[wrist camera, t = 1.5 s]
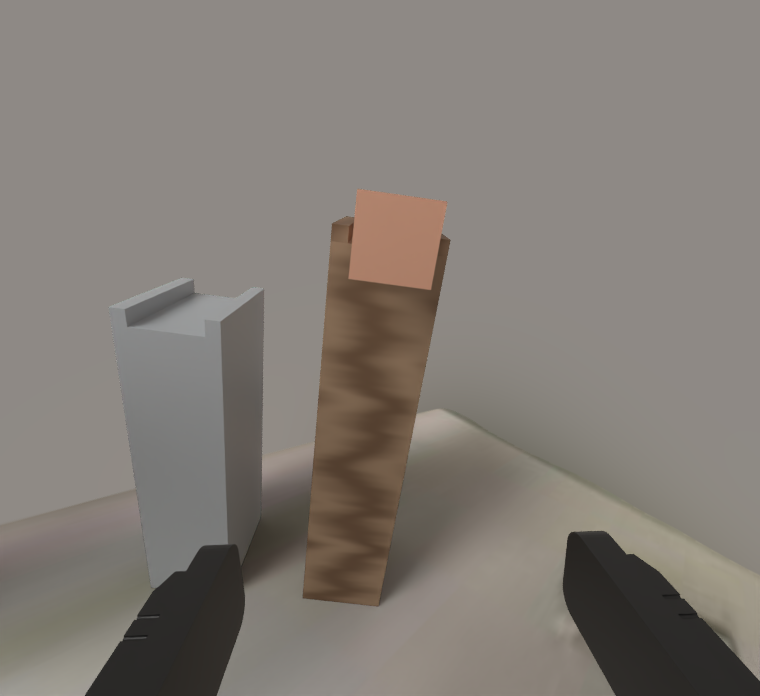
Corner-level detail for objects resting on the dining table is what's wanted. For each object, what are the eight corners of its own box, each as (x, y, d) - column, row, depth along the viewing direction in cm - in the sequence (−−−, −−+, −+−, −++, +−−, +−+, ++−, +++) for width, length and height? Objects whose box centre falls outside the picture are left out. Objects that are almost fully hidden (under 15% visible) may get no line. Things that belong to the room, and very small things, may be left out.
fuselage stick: (348, 278, 13) (357, 188, 12) (372, 228, 34) (376, 192, 33) (430, 289, 13) (447, 201, 12) (405, 232, 34) (410, 197, 33)
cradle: (151, 587, 33) (108, 306, 23) (198, 509, 42) (181, 277, 32) (229, 595, 34) (220, 321, 24) (261, 516, 42) (264, 288, 32)
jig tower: (302, 598, 34) (332, 223, 22) (317, 526, 42) (346, 216, 29) (378, 606, 34) (450, 240, 22) (380, 533, 42) (434, 228, 29)
